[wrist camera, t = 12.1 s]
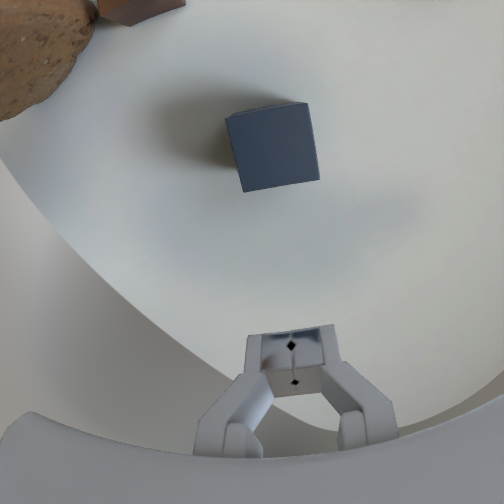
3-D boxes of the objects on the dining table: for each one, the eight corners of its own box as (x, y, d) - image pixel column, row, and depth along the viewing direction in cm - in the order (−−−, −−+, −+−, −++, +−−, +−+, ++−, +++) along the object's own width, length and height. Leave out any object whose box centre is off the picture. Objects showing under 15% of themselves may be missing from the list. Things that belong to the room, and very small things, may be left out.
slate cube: (247, 172, 19) (243, 193, 15) (233, 113, 17) (224, 118, 13) (309, 161, 18) (320, 179, 15) (298, 101, 16) (307, 102, 12)
